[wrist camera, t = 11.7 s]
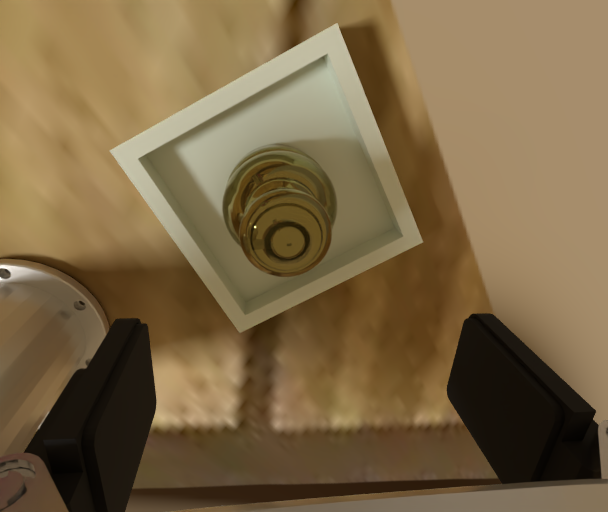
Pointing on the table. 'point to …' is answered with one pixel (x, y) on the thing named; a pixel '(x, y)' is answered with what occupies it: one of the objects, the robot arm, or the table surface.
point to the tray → (264, 131)
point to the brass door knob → (280, 209)
